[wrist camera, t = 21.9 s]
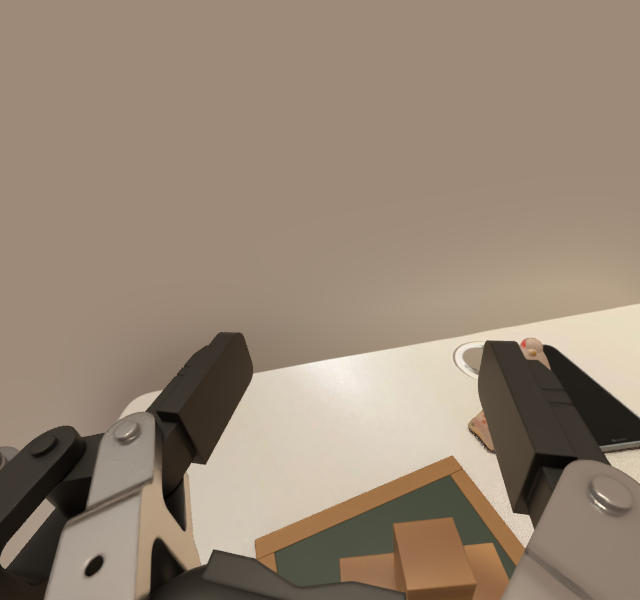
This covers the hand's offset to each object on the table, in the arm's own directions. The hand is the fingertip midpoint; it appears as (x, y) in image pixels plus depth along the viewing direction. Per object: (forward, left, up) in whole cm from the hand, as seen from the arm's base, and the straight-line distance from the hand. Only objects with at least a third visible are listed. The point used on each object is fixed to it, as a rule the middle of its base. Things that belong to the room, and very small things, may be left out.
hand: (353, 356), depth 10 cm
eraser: (+3, -1, -23) cm, 23 cm away
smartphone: (+29, +9, -24) cm, 39 cm away
